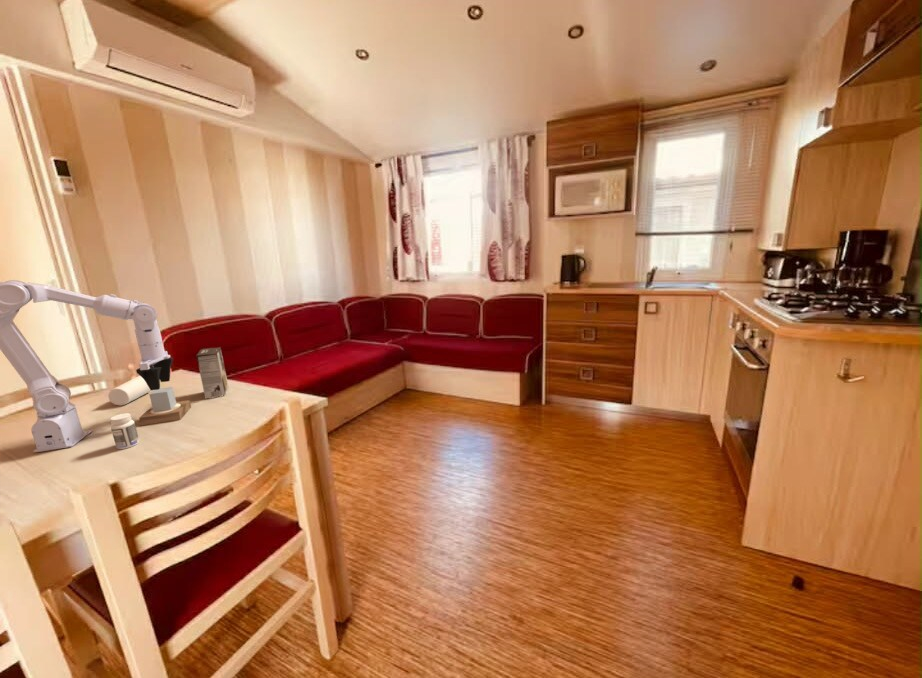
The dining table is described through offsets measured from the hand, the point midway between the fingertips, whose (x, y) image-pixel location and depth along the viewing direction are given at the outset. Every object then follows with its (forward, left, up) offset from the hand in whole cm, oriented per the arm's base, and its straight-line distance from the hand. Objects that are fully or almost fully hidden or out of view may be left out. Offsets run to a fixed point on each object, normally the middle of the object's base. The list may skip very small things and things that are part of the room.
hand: (160, 385), depth 116 cm
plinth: (-1, 0, -10) cm, 10 cm away
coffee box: (+15, -10, -10) cm, 21 cm away
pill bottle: (-19, +3, -10) cm, 22 cm away
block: (-1, 0, -7) cm, 7 cm away
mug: (+15, +20, -8) cm, 26 cm away
